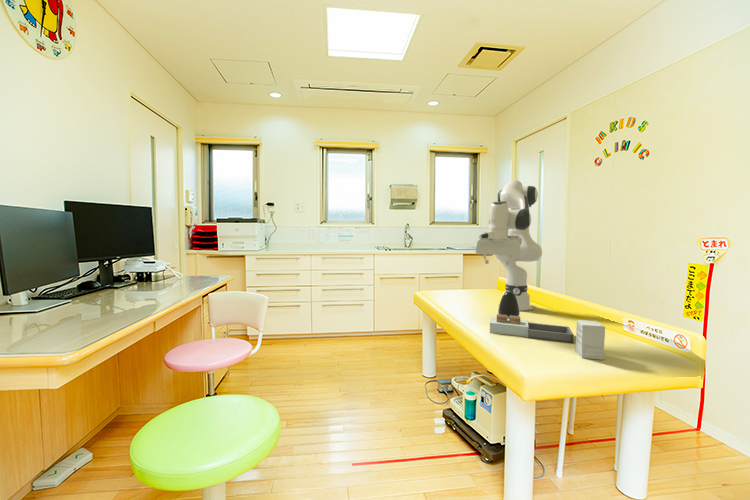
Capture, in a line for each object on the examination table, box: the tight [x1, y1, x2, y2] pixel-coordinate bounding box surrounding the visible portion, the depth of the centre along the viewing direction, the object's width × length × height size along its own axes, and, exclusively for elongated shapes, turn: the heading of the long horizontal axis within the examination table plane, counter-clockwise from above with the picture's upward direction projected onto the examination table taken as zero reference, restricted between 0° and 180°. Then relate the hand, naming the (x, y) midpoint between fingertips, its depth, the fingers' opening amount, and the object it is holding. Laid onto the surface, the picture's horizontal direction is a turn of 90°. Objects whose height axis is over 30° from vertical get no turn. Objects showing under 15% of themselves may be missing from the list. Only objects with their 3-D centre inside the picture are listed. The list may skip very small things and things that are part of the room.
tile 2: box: [509, 315, 521, 324], centre depth 150 cm, size 4×4×2 cm
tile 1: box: [496, 313, 507, 323], centre depth 152 cm, size 4×4×2 cm
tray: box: [527, 322, 574, 344], centre depth 145 cm, size 12×17×4 cm
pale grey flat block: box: [489, 316, 529, 338], centre depth 151 cm, size 10×16×4 cm, turn 68°
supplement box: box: [575, 319, 606, 361], centre depth 123 cm, size 7×7×13 cm
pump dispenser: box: [497, 290, 520, 319], centre depth 168 cm, size 10×10×15 cm
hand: (497, 264), depth 157 cm, fingers open, 8 cm apart
